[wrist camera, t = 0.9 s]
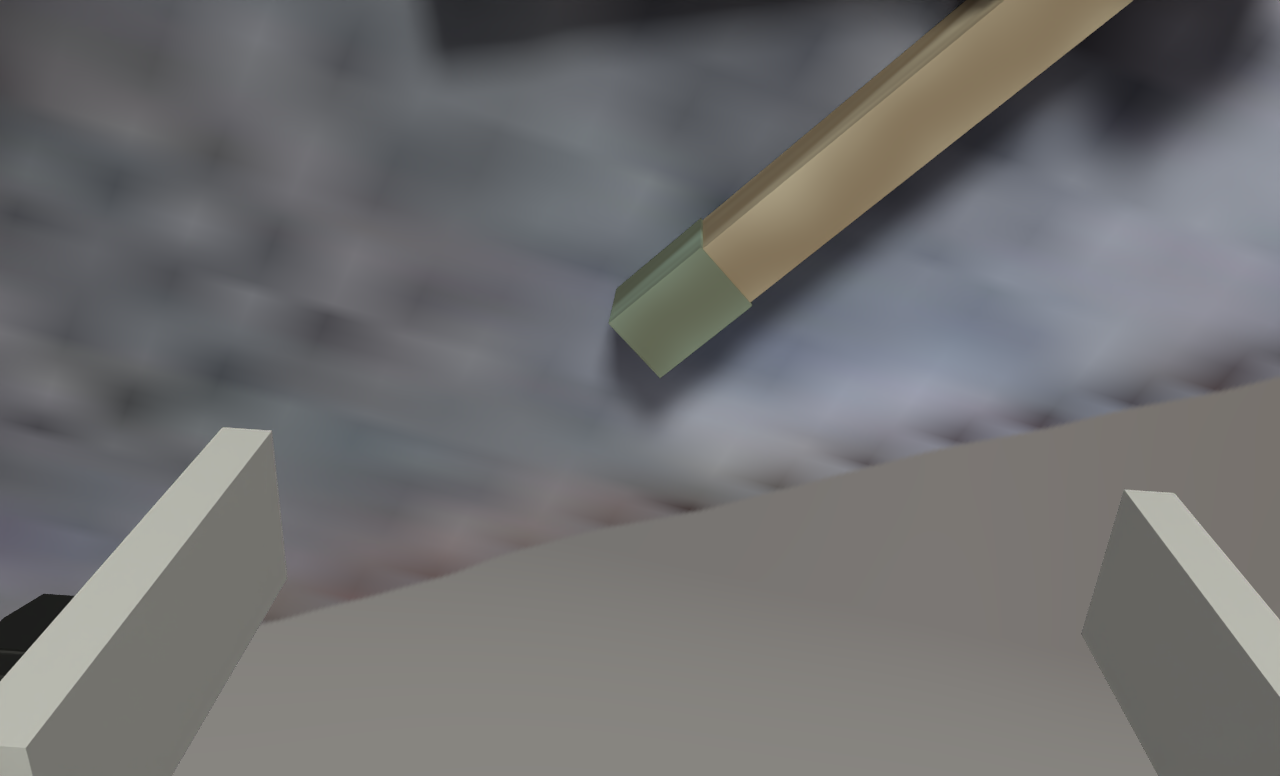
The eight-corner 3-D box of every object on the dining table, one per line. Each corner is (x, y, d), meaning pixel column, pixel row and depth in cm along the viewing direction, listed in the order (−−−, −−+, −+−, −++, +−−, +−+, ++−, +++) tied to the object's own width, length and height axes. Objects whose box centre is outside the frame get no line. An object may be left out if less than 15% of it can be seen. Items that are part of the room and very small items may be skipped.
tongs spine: (577, 245, 37) (565, 277, 34) (1187, -283, 30) (1247, -309, 26) (663, 339, 38) (660, 378, 35) (1268, -146, 31) (1335, -154, 28)
